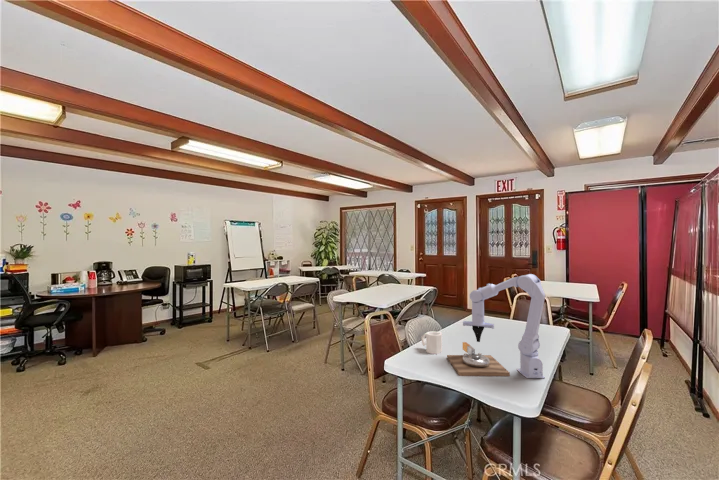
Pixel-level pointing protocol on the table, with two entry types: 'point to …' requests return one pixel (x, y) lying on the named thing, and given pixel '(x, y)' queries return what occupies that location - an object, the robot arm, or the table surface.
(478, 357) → the silver orange handled piece
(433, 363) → the table surface
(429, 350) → the mug
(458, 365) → the base plate
